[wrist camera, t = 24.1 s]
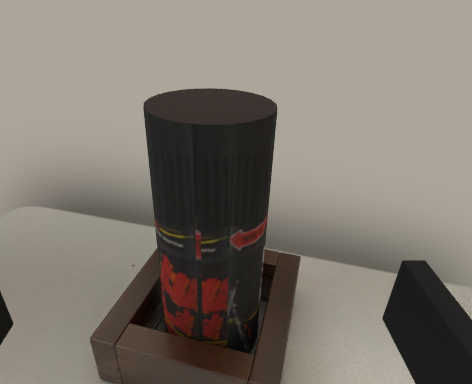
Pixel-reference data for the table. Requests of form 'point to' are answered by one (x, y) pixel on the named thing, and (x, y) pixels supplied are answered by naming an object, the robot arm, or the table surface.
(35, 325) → the table surface
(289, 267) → the frame
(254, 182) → the deodorant
